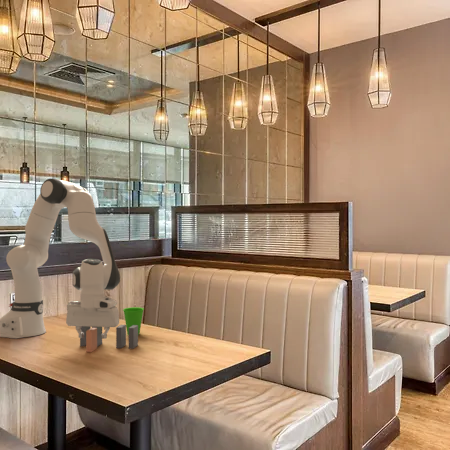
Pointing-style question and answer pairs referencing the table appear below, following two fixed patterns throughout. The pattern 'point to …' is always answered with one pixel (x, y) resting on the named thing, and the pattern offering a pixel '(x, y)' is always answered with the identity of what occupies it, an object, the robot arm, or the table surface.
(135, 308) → the cup
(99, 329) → the domino
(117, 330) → the domino
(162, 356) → the table surface
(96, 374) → the table surface
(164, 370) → the table surface
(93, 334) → the domino
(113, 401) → the table surface
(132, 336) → the domino
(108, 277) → the robot arm
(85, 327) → the domino
